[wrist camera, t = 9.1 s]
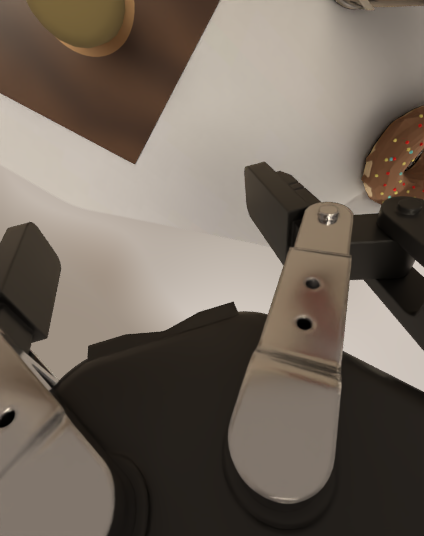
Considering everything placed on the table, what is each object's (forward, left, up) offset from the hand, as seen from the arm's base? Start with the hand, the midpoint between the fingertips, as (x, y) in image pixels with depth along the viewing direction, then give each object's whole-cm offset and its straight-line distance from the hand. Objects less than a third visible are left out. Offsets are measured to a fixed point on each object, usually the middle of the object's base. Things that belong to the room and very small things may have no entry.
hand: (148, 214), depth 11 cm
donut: (-14, +34, -23) cm, 43 cm away
